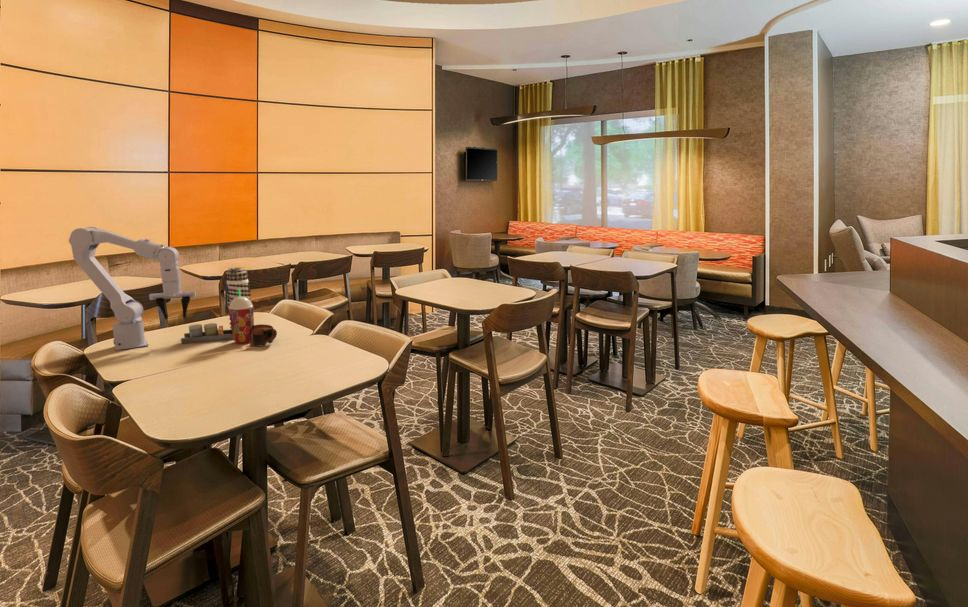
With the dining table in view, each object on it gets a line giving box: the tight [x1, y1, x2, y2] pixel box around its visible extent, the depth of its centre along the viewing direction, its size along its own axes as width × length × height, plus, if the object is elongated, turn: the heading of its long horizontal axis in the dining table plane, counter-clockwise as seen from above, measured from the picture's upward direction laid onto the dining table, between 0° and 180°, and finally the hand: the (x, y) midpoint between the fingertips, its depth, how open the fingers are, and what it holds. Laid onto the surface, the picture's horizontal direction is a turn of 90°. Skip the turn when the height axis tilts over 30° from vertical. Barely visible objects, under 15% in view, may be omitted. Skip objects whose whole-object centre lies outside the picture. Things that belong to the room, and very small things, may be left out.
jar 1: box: [188, 323, 204, 337], centre depth 199 cm, size 4×4×5 cm
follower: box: [217, 325, 224, 335], centre depth 202 cm, size 1×6×4 cm, turn 21°
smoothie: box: [227, 289, 255, 345], centre depth 194 cm, size 8×8×20 cm
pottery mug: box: [249, 324, 278, 347], centre depth 195 cm, size 12×9×8 cm
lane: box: [180, 328, 234, 345], centre depth 200 cm, size 18×8×4 cm, turn 111°
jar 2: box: [203, 322, 219, 336], centre depth 200 cm, size 4×4×5 cm
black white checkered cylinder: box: [225, 267, 252, 330], centre depth 213 cm, size 9×9×25 cm
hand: (175, 317), depth 195 cm, fingers open, 5 cm apart
